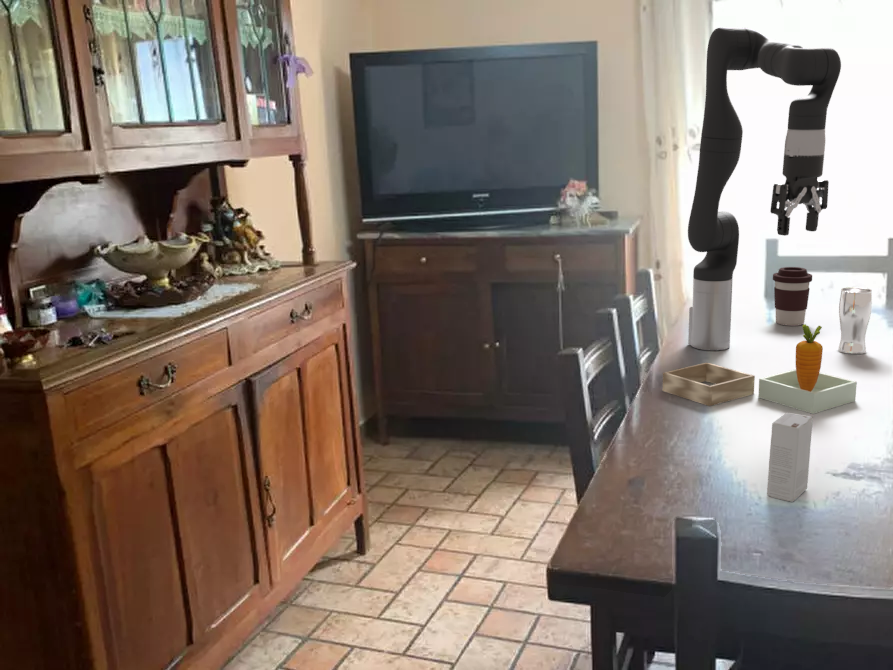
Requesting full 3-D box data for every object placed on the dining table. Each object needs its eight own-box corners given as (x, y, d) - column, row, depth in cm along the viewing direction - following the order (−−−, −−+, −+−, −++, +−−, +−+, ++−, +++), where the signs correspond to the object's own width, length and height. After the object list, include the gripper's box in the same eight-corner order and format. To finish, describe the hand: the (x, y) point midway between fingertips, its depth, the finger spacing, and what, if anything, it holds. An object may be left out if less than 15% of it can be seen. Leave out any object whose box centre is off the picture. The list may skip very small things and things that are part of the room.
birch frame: (662, 390, 191) (662, 372, 191) (706, 380, 198) (706, 362, 197) (709, 406, 181) (710, 387, 180) (753, 394, 187) (754, 375, 186)
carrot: (818, 393, 184) (823, 321, 181) (820, 400, 180) (824, 327, 176) (792, 391, 186) (797, 320, 182) (793, 399, 181) (797, 326, 178)
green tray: (758, 397, 185) (759, 378, 184) (800, 385, 192) (801, 367, 191) (813, 413, 174) (814, 393, 173) (855, 400, 181) (856, 381, 180)
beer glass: (871, 355, 213) (876, 292, 209) (839, 354, 214) (843, 292, 210) (864, 348, 219) (868, 287, 216) (833, 347, 221) (837, 286, 217)
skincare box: (780, 483, 143) (784, 410, 140) (809, 490, 140) (814, 416, 137) (765, 496, 138) (769, 421, 135) (795, 504, 135) (799, 427, 132)
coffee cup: (812, 321, 248) (816, 267, 244) (805, 328, 240) (808, 272, 236) (775, 317, 253) (778, 264, 249) (766, 325, 245) (769, 270, 241)
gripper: (811, 149, 188) (804, 227, 192) (764, 153, 181) (758, 234, 185) (843, 151, 181) (835, 232, 186) (795, 155, 174) (788, 238, 179)
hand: (797, 232), depth 185 cm, fingers open, 8 cm apart
